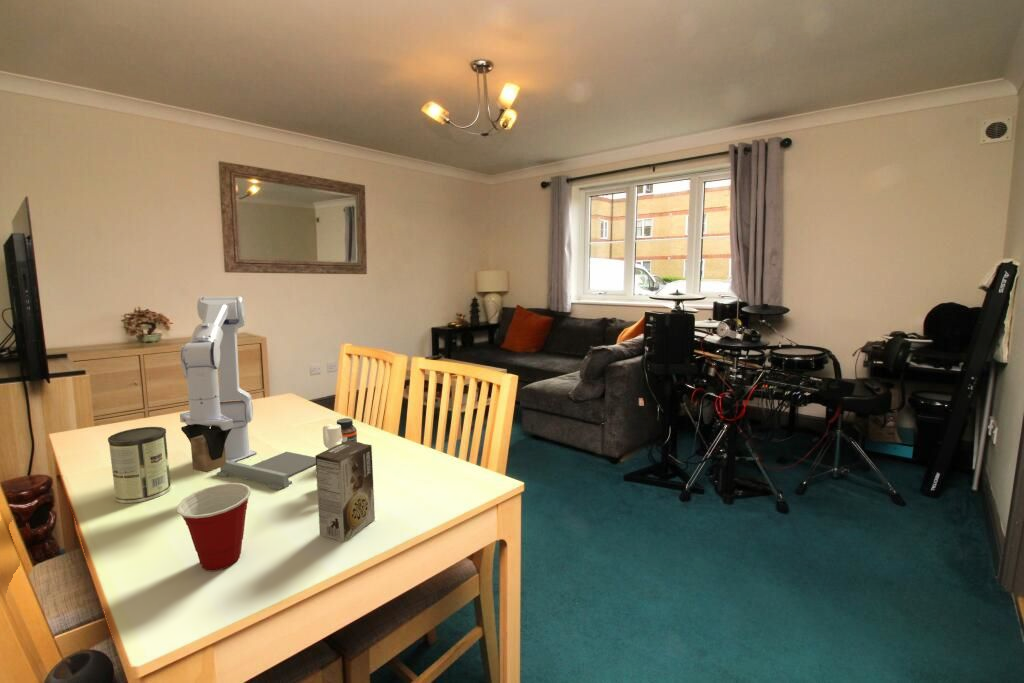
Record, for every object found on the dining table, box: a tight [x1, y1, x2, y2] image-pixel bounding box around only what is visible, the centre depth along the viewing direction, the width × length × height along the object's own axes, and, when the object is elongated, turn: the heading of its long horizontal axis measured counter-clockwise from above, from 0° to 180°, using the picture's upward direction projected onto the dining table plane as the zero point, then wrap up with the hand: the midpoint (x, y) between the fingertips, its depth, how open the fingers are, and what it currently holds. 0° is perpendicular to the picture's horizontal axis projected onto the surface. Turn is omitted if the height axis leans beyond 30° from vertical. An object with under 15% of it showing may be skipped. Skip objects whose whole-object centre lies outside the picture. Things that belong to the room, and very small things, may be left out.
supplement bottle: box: [336, 417, 358, 443], centre depth 128 cm, size 6×6×11 cm
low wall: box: [216, 460, 293, 491], centre depth 117 cm, size 22×4×3 cm, turn 67°
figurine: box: [314, 423, 342, 476], centre depth 111 cm, size 7×9×15 cm
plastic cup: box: [176, 482, 252, 572], centre depth 82 cm, size 11×11×12 cm
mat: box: [251, 451, 316, 479], centre depth 126 cm, size 14×12×1 cm
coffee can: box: [107, 426, 172, 504], centre depth 108 cm, size 10×10×14 cm
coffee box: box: [314, 441, 376, 542], centre depth 94 cm, size 9×6×16 cm
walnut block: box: [189, 435, 226, 474], centre depth 106 cm, size 4×4×7 cm
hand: (208, 456), depth 106 cm, fingers closed on walnut block, 4 cm apart
